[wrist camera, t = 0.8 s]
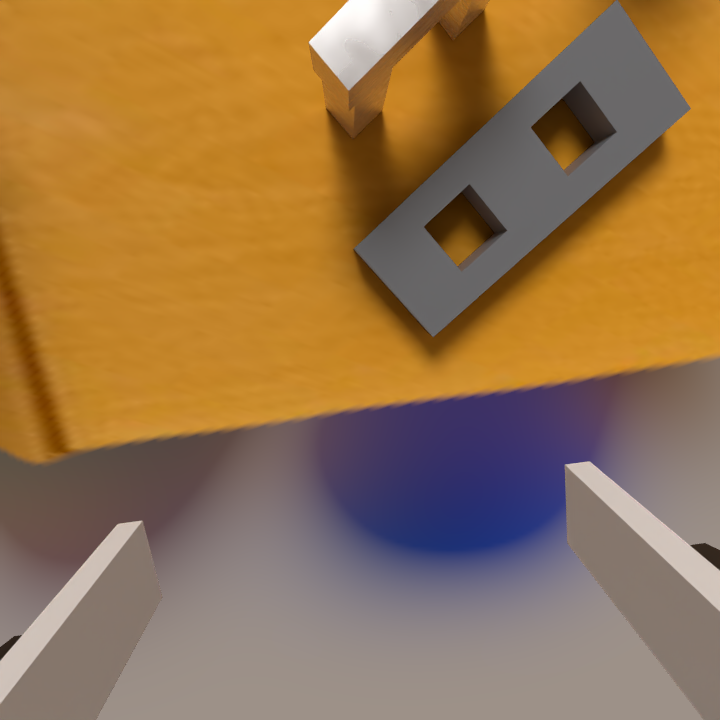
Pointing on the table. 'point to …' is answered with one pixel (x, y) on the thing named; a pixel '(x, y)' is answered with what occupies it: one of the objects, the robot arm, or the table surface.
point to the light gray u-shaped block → (376, 50)
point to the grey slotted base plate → (527, 169)
